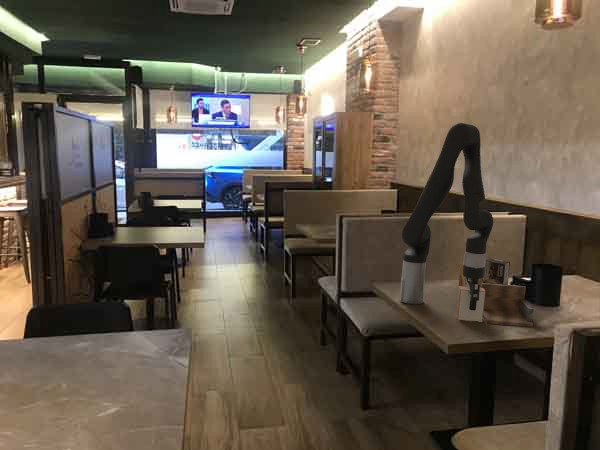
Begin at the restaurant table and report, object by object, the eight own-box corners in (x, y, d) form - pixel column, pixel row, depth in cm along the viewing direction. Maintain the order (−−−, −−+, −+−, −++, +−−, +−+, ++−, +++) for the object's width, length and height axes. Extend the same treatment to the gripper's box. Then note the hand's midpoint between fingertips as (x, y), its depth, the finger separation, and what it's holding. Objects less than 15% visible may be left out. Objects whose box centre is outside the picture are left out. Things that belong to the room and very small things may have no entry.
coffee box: (507, 297, 211) (511, 261, 209) (501, 301, 207) (505, 263, 204) (486, 292, 217) (489, 257, 214) (480, 296, 213) (484, 259, 210)
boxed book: (457, 320, 182) (460, 289, 180) (455, 316, 186) (458, 286, 184) (482, 322, 181) (485, 291, 179) (480, 318, 185) (483, 288, 183)
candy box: (481, 302, 203) (485, 267, 201) (476, 305, 200) (480, 268, 198) (461, 297, 210) (464, 262, 207) (456, 299, 207) (460, 264, 204)
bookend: (487, 323, 180) (490, 293, 178) (479, 310, 194) (482, 283, 192) (532, 326, 178) (536, 297, 176) (521, 313, 192) (524, 286, 190)
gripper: (460, 258, 187) (456, 299, 190) (467, 268, 173) (463, 311, 176) (480, 260, 186) (476, 301, 189) (489, 269, 172) (484, 313, 175)
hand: (470, 306), depth 183 cm, fingers open, 8 cm apart
